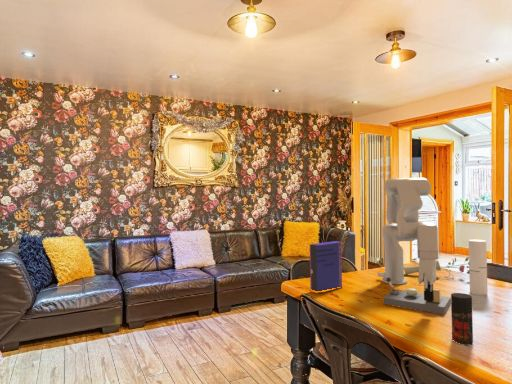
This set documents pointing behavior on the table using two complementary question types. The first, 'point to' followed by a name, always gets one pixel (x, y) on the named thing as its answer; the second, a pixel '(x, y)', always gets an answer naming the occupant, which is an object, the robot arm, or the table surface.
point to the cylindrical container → (478, 267)
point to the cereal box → (325, 265)
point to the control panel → (417, 302)
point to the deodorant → (462, 318)
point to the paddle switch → (436, 295)
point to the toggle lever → (390, 283)
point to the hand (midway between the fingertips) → (428, 300)
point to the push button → (411, 291)
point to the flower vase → (416, 268)
